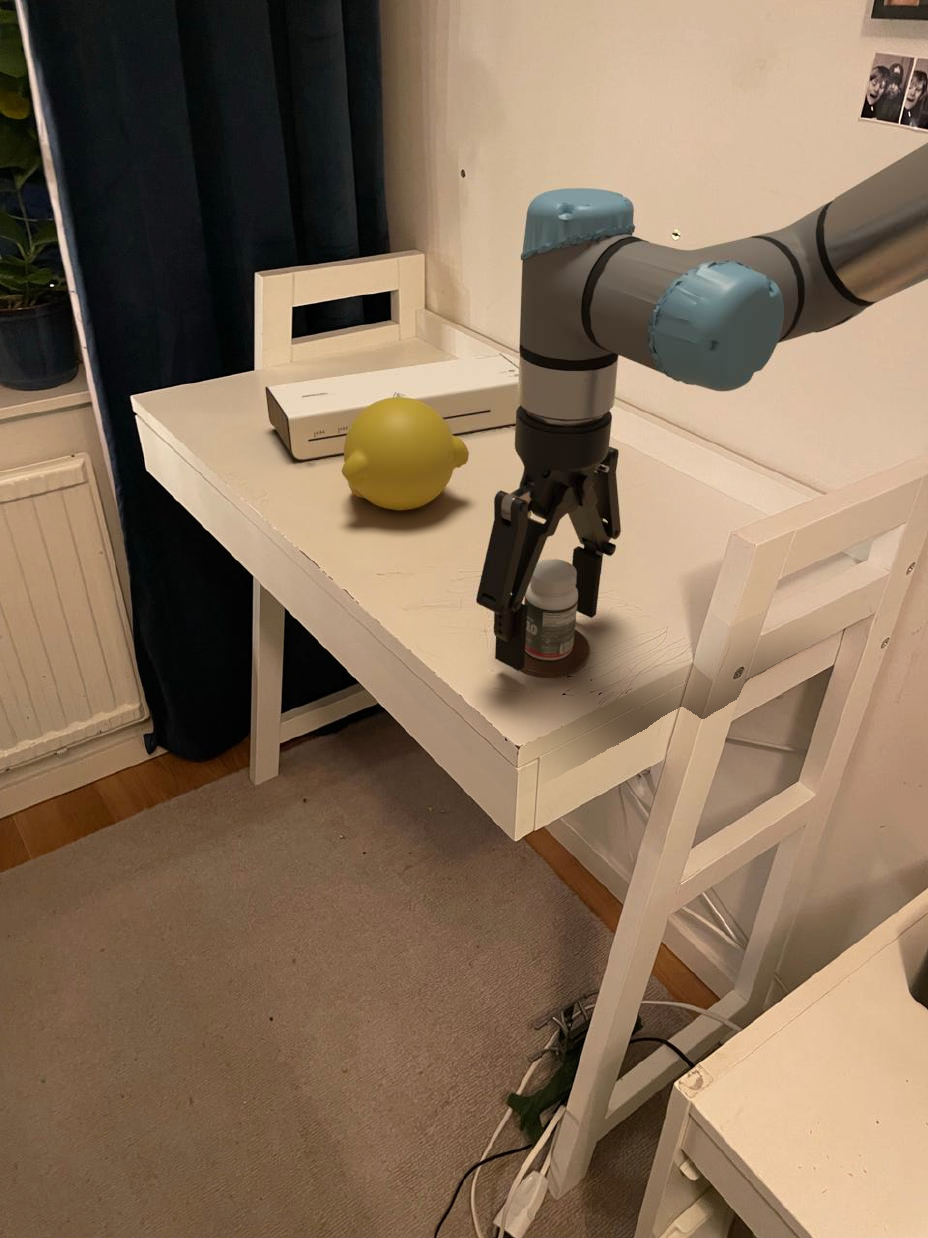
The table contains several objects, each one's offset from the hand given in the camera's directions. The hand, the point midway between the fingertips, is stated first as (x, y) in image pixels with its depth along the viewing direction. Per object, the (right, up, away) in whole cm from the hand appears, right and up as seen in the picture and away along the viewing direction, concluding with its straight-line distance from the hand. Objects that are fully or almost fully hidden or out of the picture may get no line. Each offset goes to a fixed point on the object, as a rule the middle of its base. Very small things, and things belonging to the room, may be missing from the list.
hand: (547, 636), depth 86 cm
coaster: (0, -1, +1) cm, 2 cm away
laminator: (-16, +28, +42) cm, 53 cm away
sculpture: (-15, +15, +24) cm, 32 cm away
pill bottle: (0, -1, +1) cm, 1 cm away
